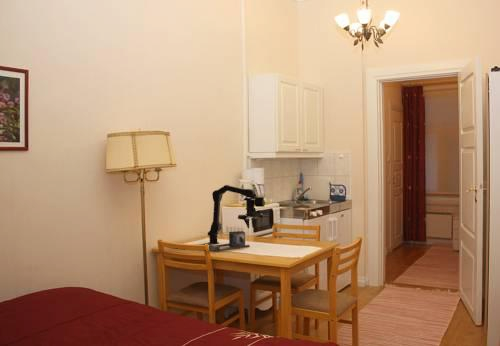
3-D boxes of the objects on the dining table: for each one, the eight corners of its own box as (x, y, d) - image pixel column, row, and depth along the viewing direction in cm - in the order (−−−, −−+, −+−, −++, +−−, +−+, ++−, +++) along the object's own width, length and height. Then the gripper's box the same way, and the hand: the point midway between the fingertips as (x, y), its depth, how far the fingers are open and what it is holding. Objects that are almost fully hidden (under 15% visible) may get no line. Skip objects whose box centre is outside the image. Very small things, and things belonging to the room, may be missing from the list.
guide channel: (205, 248, 329) (205, 244, 328) (238, 244, 343) (238, 240, 343) (216, 251, 316) (215, 247, 316) (249, 247, 331) (249, 242, 331)
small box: (231, 248, 329) (230, 233, 329) (228, 246, 336) (228, 231, 336) (245, 246, 332) (245, 232, 332) (243, 245, 339) (242, 230, 338)
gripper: (245, 208, 328) (246, 230, 328) (267, 206, 338) (267, 228, 339) (237, 207, 337) (237, 228, 338) (258, 205, 348) (259, 226, 348)
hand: (250, 228), depth 340 cm, fingers open, 4 cm apart
